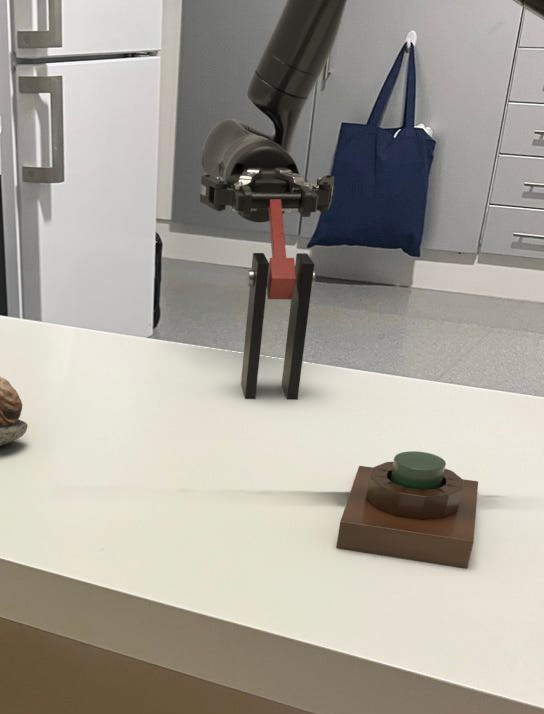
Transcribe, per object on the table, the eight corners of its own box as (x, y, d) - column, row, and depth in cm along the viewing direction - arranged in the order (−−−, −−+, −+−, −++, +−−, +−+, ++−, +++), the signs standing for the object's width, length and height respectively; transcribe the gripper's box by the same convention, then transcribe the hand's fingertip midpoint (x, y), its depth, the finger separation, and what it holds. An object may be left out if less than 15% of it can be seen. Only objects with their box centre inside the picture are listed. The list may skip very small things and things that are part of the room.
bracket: (222, 388, 104) (234, 246, 96) (301, 389, 103) (319, 247, 96) (230, 422, 95) (243, 270, 88) (316, 424, 95) (337, 270, 88)
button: (392, 470, 76) (396, 448, 75) (442, 477, 75) (447, 454, 74) (387, 488, 73) (391, 466, 72) (439, 495, 72) (444, 472, 71)
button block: (355, 490, 82) (362, 443, 80) (472, 507, 79) (483, 459, 77) (335, 548, 73) (343, 498, 71) (466, 569, 71) (479, 517, 68)
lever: (246, 206, 100) (249, 184, 98) (297, 206, 100) (302, 184, 98) (252, 299, 93) (255, 278, 91) (307, 299, 93) (311, 278, 91)
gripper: (195, 140, 109) (204, 161, 94) (330, 140, 108) (360, 162, 94) (190, 215, 113) (199, 246, 98) (320, 215, 112) (348, 247, 98)
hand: (278, 205), depth 96 cm, fingers closed on lever, 5 cm apart
